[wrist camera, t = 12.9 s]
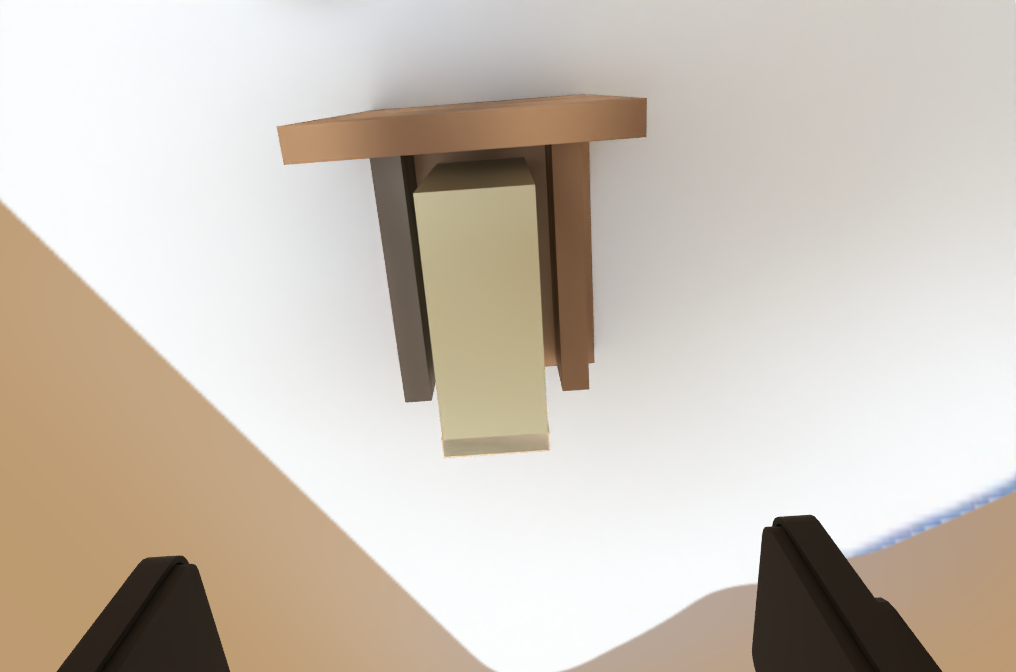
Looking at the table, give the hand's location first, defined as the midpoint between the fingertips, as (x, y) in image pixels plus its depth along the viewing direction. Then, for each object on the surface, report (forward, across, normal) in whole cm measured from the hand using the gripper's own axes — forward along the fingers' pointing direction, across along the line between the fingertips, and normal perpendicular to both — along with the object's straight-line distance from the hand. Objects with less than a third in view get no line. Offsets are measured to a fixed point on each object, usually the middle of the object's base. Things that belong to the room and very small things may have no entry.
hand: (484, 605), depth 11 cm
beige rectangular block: (+22, 0, 0) cm, 22 cm away
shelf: (+24, 0, -1) cm, 24 cm away
